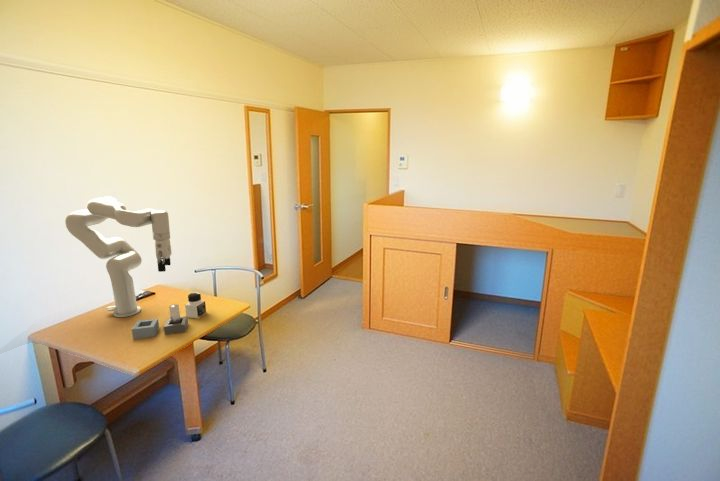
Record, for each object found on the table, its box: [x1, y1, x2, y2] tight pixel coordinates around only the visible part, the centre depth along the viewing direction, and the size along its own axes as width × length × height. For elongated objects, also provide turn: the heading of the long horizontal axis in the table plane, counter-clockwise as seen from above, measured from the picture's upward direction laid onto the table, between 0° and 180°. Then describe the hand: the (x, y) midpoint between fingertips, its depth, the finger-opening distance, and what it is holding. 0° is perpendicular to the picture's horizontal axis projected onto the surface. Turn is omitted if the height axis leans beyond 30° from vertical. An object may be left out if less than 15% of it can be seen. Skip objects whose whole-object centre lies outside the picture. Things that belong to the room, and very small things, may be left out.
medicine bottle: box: [184, 292, 207, 319], centre depth 191 cm, size 7×7×12 cm
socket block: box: [131, 318, 160, 340], centre depth 173 cm, size 9×9×5 cm
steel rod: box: [168, 304, 181, 324], centre depth 176 cm, size 4×4×12 cm
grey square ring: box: [163, 315, 189, 335], centre depth 177 cm, size 9×9×4 cm
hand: (164, 268), depth 185 cm, fingers open, 9 cm apart
